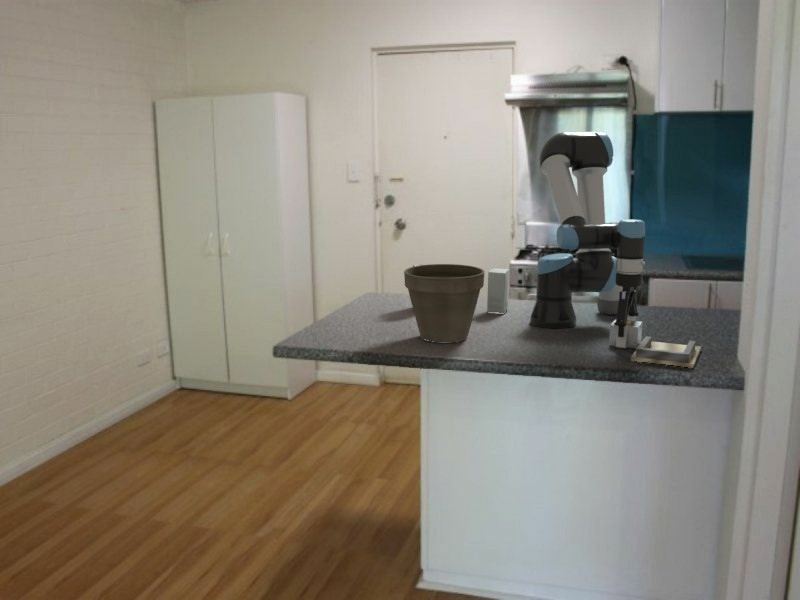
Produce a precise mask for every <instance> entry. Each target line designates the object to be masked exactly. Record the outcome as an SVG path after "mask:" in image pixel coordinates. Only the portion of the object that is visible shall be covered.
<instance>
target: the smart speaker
mask: <svg viewBox="0 0 800 600" xmlns="http://www.w3.org/2000/svg"><path fill="white" fill-rule="evenodd" d="M622 289H623V287H622V286H618V285H616V284H615V286H614V288H613V289H612V290H610V291H604V292H598V294H597V303H596V306H597V311H598V312H599V313H600V314H601V315H605V316H617V310H618V303H619V293H620V292H622Z"/></svg>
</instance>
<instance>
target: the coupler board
mask: <svg viewBox="0 0 800 600" xmlns="http://www.w3.org/2000/svg"><path fill="white" fill-rule="evenodd" d="M696 343H697V342H696V340H689V341H688V343H687V344H679V343H671V342H670V343H669V342H660V341H652V336H647V335H646V336H645V337H644V338H643V339H642V340H641V343H640V345H639V346H638V347H637V348H635V349H636V350H635V351H634V352H633V354H632V355H631V356H630V362H634V361H637V363H642V362H649V363H648V364H650V363H657V364H656V365H659V364H666V365H665V366H667V365H674V366H673V367H676V366H681V367H680V368H684V367H688V368H687V369H692V368H693V369H694V367H695V365H696V363H697V360H698V358H699V356H700V353H701V351H702V346H698V345H696Z"/></svg>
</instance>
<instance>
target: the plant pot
mask: <svg viewBox="0 0 800 600" xmlns="http://www.w3.org/2000/svg"><path fill="white" fill-rule="evenodd" d="M419 265H420V266H414V267H413V266H411V267H408V268H406V269H405V270H404V271H403V274H404V286H405V288H406V289H407V291H408V294H409V299H410V303H411V306H412V309H413V314H414V318H415V321H416V325H417V328H418V332H419V335H420V338H421V337H422V338H423V339H426V340H429V341H434V342H456V343H458V342H457V341H461V342H463V341H462V340H464V341H466V340H467V338H468V336H469V333H470V329H471V326H472V323H473V319H474V314H475V311H476V307H477V304H478V300H479V296H480V294H481V293H480V291H481V289H482V288H483V287H484V285H485V270H484V269H482V268H481V267H477V266H472V265H467V264H465V265H464V264H458V263H457V264H454V263H437V264H436V263H434V264H430V263H429V264H419ZM422 338H421V339H422ZM423 339H422V340H423Z"/></svg>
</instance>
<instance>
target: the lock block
mask: <svg viewBox="0 0 800 600" xmlns="http://www.w3.org/2000/svg"><path fill="white" fill-rule="evenodd" d="M614 322H616V318H615V319H614V320H613V321H612V322H611V323H610V325H609V340H608V342H609V343H608V346H609V345H615V346H614V347H616V336H617V326H616V325H614ZM626 326H627V336H626V348H628V347H632V348H631V349H636V348H637V347H638V346H639V344H640V343H641V342H642V335H643V321H638V320H635V321H630V320H627V323H626Z"/></svg>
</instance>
